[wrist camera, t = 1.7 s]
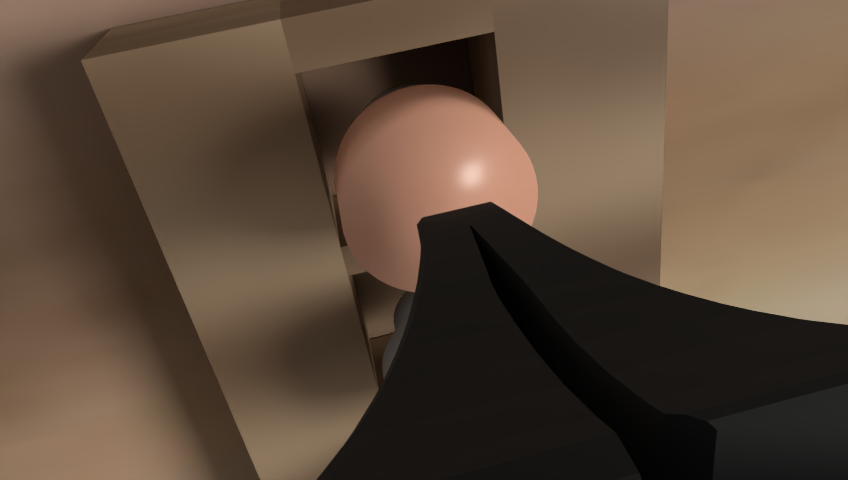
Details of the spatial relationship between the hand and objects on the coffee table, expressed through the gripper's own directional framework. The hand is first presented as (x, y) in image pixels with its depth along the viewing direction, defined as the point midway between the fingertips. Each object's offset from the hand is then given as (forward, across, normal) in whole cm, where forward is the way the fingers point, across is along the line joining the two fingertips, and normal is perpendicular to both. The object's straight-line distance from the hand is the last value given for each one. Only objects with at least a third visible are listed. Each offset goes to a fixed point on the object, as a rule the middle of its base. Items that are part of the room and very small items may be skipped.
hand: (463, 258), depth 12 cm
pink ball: (+6, 0, 0) cm, 6 cm away
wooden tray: (+8, 0, +6) cm, 10 cm away
